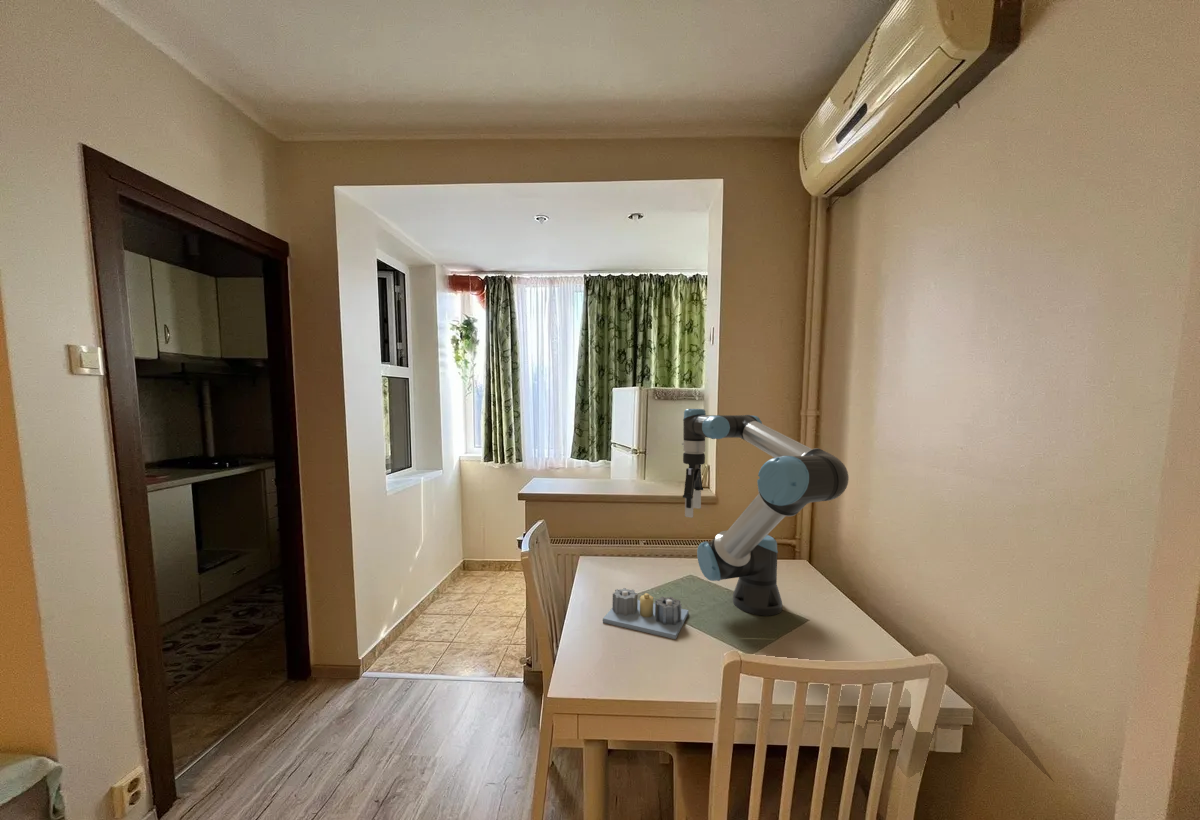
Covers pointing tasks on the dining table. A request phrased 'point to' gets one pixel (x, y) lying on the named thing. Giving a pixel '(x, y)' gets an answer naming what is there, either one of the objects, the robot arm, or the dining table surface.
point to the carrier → (640, 614)
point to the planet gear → (667, 611)
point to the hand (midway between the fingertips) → (693, 512)
